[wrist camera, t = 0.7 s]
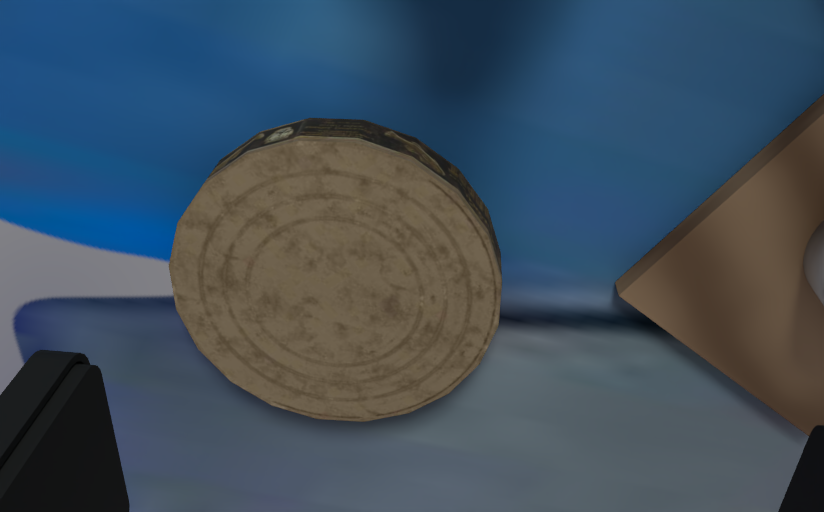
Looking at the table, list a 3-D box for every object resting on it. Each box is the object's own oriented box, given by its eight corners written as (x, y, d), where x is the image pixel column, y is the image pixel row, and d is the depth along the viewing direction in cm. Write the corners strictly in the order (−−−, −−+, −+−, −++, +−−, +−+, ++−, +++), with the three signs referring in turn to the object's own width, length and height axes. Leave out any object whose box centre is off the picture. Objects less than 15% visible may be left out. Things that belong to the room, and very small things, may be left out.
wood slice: (185, 357, 44) (167, 392, 41) (192, 85, 36) (170, 108, 33) (465, 407, 44) (465, 445, 42) (535, 149, 36) (539, 176, 33)
